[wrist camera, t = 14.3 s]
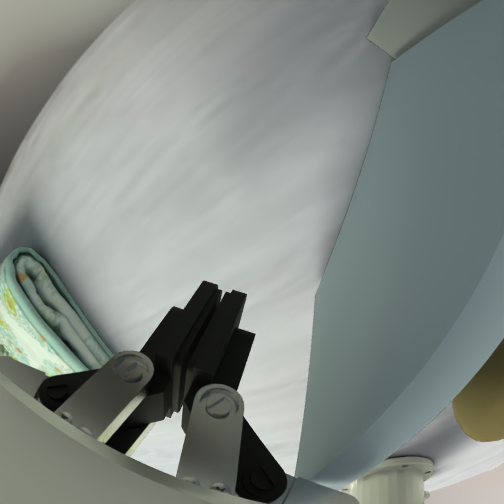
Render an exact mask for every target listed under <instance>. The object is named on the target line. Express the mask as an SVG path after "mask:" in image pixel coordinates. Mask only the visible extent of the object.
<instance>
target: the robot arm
mask: <svg viewBox="0 0 504 504" xmlns="http://www.w3.org/2000/svg"><path fill="white" fill-rule="evenodd" d="M221 295H222V290H219V289H218V285H217V284H213V283H210V282H207V281H203V282H202V283H201V285H200V286H199V288H198V289H197V290H196V292H195V293H194V295H193V296H192V298H191V299H190V301H189V302H188V304H187V305H186V307H185V308H184V310H183V309H180V308H177V307H175V306H174V307H172V308H171V309H170V311H169V312H168V313H167V315H166V316H165V317H164V319H163V320H162V321H161V323H160V324H159V326H158V327H157V328H156V330H155V331H154V332H153V334H152V335H151V337H150V338H149V339H148V341H147V342H146V344H145V345H144V346H143V348H142V349H141V351H140V352H137V351H123V352H120V353H117V354H116V355H115V356H113V357H112V358H111V359H110V360H109V361H108V362H107V363H106V364H104V365H103V366H102V367H101V368H99V369H94V370H87V371H81V372H75V373H68V374H61V375H55V376H51V377H50V376H47V374H46V372H43V371H40V370H38V369H36V368H33V367H31V366H28V365H26V364H24V363H21V362H19V361H17V360H15V359H12V358H10V357H7V356H0V504H424V500H426V499H427V498H428V497H429V496H430V493H429V492H428V491H424V481H425V480H427V479H428V478H429V477H430V476H431V475H432V474H433V472H434V464H433V462H432V461H431V460H430V459H427V458H424V457H399V458H391V459H386V460H384V461H382V462H381V463H380V464H378V465H377V466H376V467H374V468H373V469H371V470H370V471H368V472H367V473H366V474H364V475H363V476H361V477H360V478H358V479H357V480H355V481H354V482H352V483H350V484H349V485H347V486H346V487H344V488H342V489H341V490H340V491H338V490H335V489H332V488H329V487H326V486H323V485H320V484H317V483H315V482H312V481H309V480H307V479H304V478H301V477H299V476H297V477H296V478H295V477H293V476H291V475H288V474H286V473H285V472H284V470H283V469H282V467H281V466H280V465H279V464H278V462H277V461H276V460H275V459H274V457H273V456H272V455H271V453H270V452H269V451H268V449H267V448H266V447H265V445H264V444H263V443H262V441H261V440H260V439H259V437H258V436H257V435H256V433H255V432H254V430H253V429H252V428H251V426H250V425H249V423H248V422H247V421H246V419H245V418H244V416H243V415H244V401H243V399H242V397H241V395H240V394H239V393H238V392H237V389H238V386H239V383H240V380H241V377H242V374H243V371H244V368H245V365H246V362H247V359H248V356H249V353H250V350H251V347H252V344H253V341H254V338H255V333H251V332H248V331H245V330H242V329H239V328H238V327H239V323H240V320H241V316H242V312H243V308H244V304H245V301H246V297H247V294H245V293H242V292H238V291H235V290H232V292H231V293H229V292H226V293H225V294H224V296H223V298H222V300H221ZM220 300H221V302H220ZM182 405H183V412H182V425H181V427H182V429H183V431H184V433H185V434H186V436H185V440H184V444H183V449H182V453H181V457H180V461H179V466H178V470H177V475H176V477H174V476H172V475H169V474H167V473H164V472H162V471H159V470H157V469H155V468H152V467H150V466H148V465H145V464H143V463H141V462H139V461H137V460H135V459H133V458H130V456H131V455H132V453H133V452H134V451H135V450H136V448H137V447H138V446H139V445H140V443H141V442H142V441H143V440H144V438H145V437H146V436H147V434H148V433H149V432H150V431H151V429H152V428H153V427H154V425H155V423H156V422H157V421H161V420H164V418H165V417H169V418H171V416H172V414H173V412H174V411H175V412H177V413H179V411H180V409H181V407H182Z"/></svg>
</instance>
